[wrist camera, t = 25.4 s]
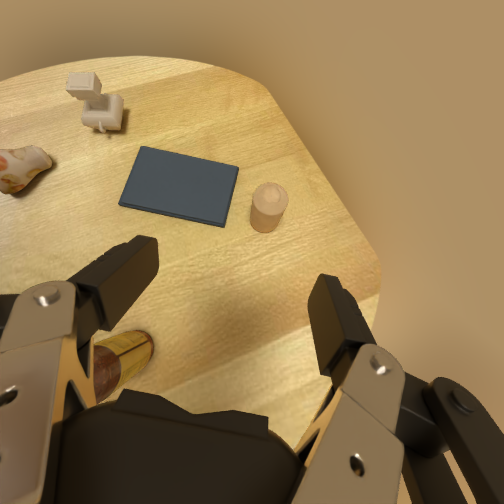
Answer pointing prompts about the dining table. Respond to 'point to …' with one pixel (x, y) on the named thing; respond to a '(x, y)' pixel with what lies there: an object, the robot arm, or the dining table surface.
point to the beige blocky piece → (95, 102)
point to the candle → (268, 206)
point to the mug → (21, 167)
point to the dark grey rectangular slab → (180, 186)
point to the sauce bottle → (119, 361)
